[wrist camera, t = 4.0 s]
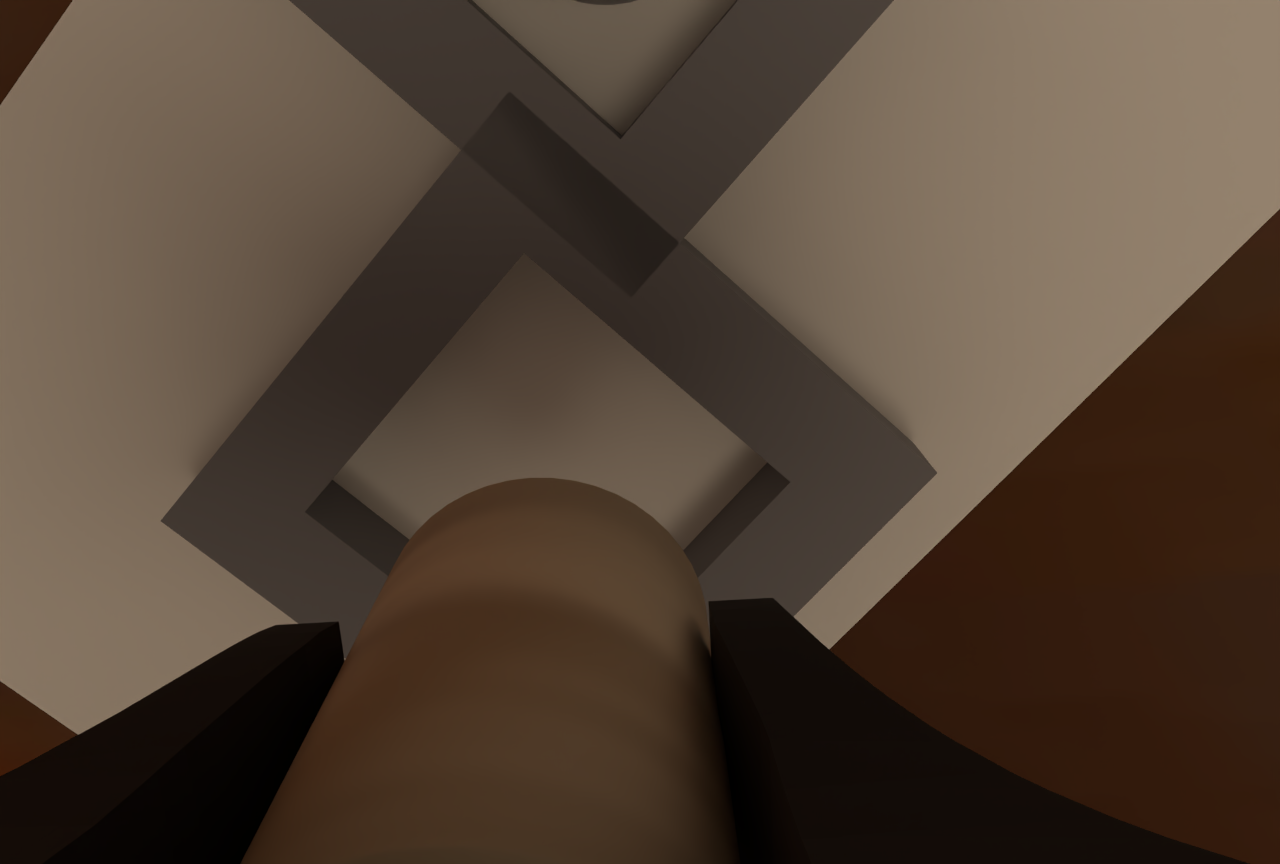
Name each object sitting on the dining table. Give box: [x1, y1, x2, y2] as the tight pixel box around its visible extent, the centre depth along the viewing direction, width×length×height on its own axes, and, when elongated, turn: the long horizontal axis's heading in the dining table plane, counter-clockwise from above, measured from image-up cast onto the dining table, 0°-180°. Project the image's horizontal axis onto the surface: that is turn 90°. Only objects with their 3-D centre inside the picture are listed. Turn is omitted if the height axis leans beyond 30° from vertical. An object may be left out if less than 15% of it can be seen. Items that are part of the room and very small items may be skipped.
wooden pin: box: [240, 478, 740, 864], centre depth 9 cm, size 4×4×6 cm
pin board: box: [0, 0, 1280, 735], centre depth 15 cm, size 22×15×7 cm
